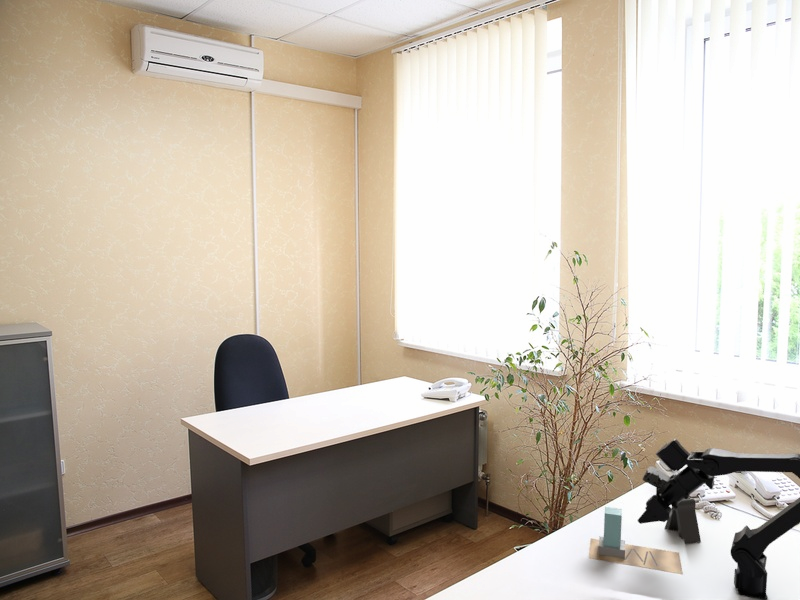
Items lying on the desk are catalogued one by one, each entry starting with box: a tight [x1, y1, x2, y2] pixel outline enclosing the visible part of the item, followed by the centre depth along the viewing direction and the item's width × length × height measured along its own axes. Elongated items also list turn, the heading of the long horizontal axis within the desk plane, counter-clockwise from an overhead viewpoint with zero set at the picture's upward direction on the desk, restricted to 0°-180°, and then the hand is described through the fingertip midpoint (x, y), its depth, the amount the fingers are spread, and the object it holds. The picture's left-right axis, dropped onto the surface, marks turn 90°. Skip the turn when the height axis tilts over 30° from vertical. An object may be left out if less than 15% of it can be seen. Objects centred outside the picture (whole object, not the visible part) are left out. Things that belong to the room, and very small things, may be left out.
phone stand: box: [664, 496, 702, 545], centre depth 187 cm, size 9×6×12 cm, turn 13°
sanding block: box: [598, 506, 626, 559], centre depth 174 cm, size 7×6×12 cm
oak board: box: [588, 538, 684, 575], centre depth 173 cm, size 24×12×2 cm, turn 70°
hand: (642, 515), depth 172 cm, fingers open, 9 cm apart
